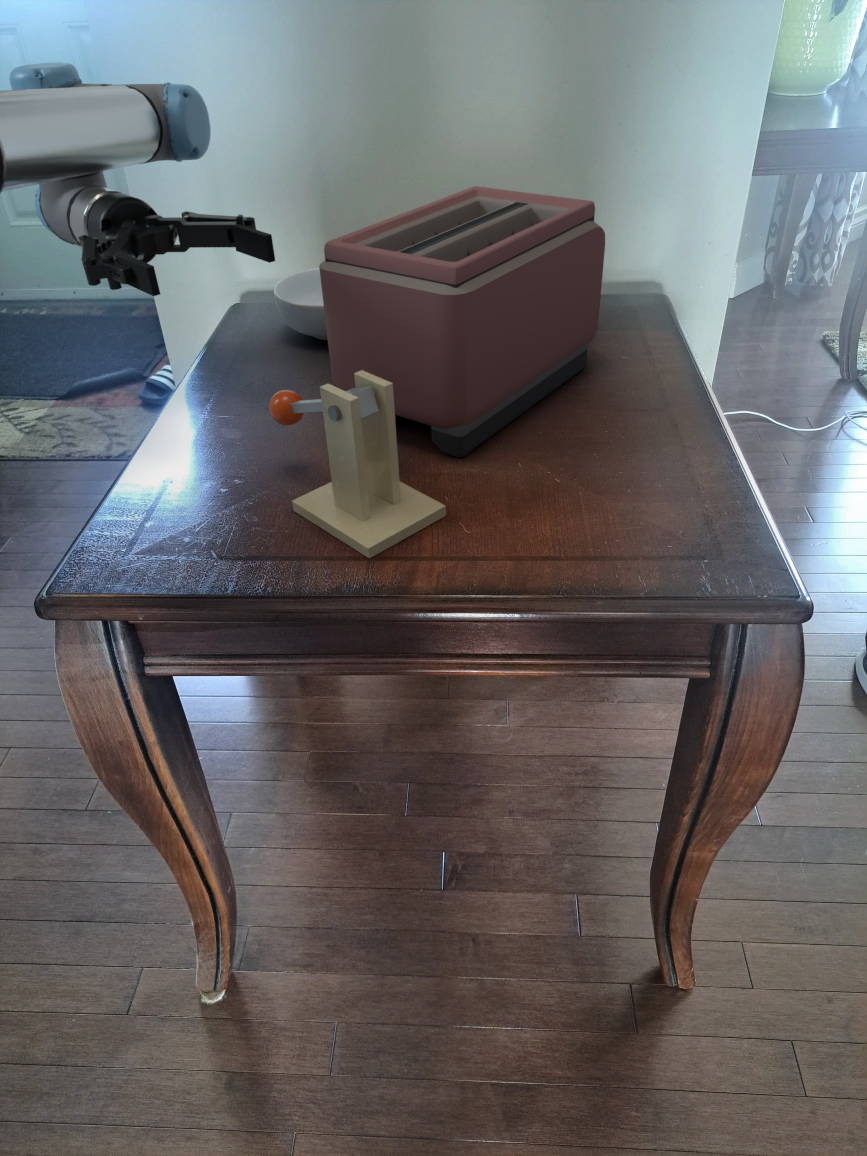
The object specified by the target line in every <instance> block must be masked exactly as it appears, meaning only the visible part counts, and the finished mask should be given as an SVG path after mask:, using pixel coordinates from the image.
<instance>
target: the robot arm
mask: <svg viewBox="0 0 867 1156" xmlns="http://www.w3.org/2000/svg"><path fill="white" fill-rule="evenodd" d="M8 78H9V79H8V80H9V84H10V88H11V89H10V90H9V89H8V90H7V89H6V90H0V195H1V193H2V192H6V191H11V190H18V189H22V188H27V187H33V186H37V185H38V187H37V189H36V192H35V196H34V208H35V209H34V210H35V212H36V216H37V217H38V219H39V221H40V223H41V224H42V225H43V226H44V228H45V229H47V230H48V231H49V232H50V233H52V234H53V235H54V236H56V237H58V239H59V240H61V241H62V242H65V243H67V244H70V245H72V246H73V245H75V246H78V247H80V249H81V253H82V254H81V263H82V267H83V270H84V273H85V277H86V281H87V284H88V286H92V287H96V286H98V285H101V283H102V280H103V279H106V280H107V283H108V287H109V290H112V291H115V290H116V291H117V290H120V289H122V288H123V285H128V286H130V287H132V288H134V289H136V290H139V291H141V292H143V293H145V294H148V295H149V296H151V297H156V296H159V295H160V296H161V290H160V287H159V283H158V277H157V273H156V270H155V266H154V265H152V264H150V262H151V261H152V260H154V259H155V257H157V255H159V256H161V255H165V254H166V253H186V252H188V251H189V250H190V249H191V248H194V249H195V248H235V252H238V253H242V254H244V255H247V256H249V257H252V258H255V259H257V260H261V261H263V262H266V263H269V264H270V263H273V262H276V255H275V249H274V242H273V237H272V234H271V233H267V232H265V231H261V230H259V229H257V225H256V219H255V217H252V216H244V215H243V214H237V215H221V214H220V215H219V214H206V213H196V212H192V211H187V210H186V211H182V212H181V214H180V215H181V217H180V216H179V217H176V216H175V217H163V216H162V215H159V214H158V213H157V212H156V211H155V210H154V209H153V207H152V206H151V205H150V204H149V203H147V202H146V201H145V200H142V199H140V198H138V197H135V196H133V195H129V194H126V193H123V192H121V191H118V190H114V189H112V188H108V187H107V182H106V178H105V175H104V172H105V171H110V170H116V169H120V168H125V167H129V166H130V167H131V166H134V165H143V164H144V165H145V164H150V163H155V162H161V161H176V162H177V163H181V162H183V161H195V160H199V159H201V158H203V157H204V156H205V154H206V153H207V151H208V150H209V146H210V142H211V134H212V133H211V130H212V129H211V121H210V115H209V111H208V107H207V105H206V102H205V100H204V98H203V96H202V95H201V94H200V92H199V90H197V89H196V88H195V87H193V86H192V85H190V84H183V83H182V84H180V83H171V82H164V83H128V84H127V83H126V84H111V83H109V84H108V83H83V81H82V79H81V77H80V74H79V72H78V69H77V68H76V66H75V65H74V64H72V63H70V62H44V63H43V62H42V63H41V62H40V63H39V62H38V63H32V64H31V63H30V64H25V65H19V66H17V67H14V68H13V69H11V71H10V73H9V77H8ZM177 239H178V242H179V244H176V241H177Z"/></svg>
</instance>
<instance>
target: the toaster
mask: <svg viewBox="0 0 867 1156" xmlns="http://www.w3.org/2000/svg"><path fill="white" fill-rule="evenodd" d="M595 216H596V205H595V202H594V201H593V200H588V199H580V198H579V199H578V198H571V197H564V196H556V195H555V196H554V195H547V194H541V193H540V194H539V193H533V192H523V191H515V190H508V189H500V188H495V187H494V188H493V187H487V186H486V187H485V186H476V185H475V186H471V187H468V188H466V189H463V190H461V191H458V192H456V193H453V194H449V195H448V196H445V197H443V198H440V199H437V200H434V201H431V202H429V203H426V204H424V205H421V206H418V207H415V208H413V209H410V210H408V211H405V212H403V213H400V214H397V215H394V216H392V217H389V218H387V219H383V220H381V221H379V222H376V223H373V224H370V225H368V226H365V227H363V228H360V229H357V230H355V231H351V232H349V233H347V234H344V235H341V236H337V237H336V238H333V239H331V240H328V241H326V242H325V243H324V249H323V252H324V261H322V262H320V263H319V266H318V268H319V269H320V278H321V287H322V295H323V304H324V312H325V321H326V330H327V338H328V340H327V346H328V353H329V363H330V372H331V379H332V381H333V384H334V386H335V387H337V388H339V389H341V390H344V391H347V390H350V389H352V388H355V377H354V373H356V372H358V371H361V370H363V371H365V372H368V373H370V374H372V375H375V376H377V377H379V378H382V379H384V380H386V381H389V382H391V383H393V395H394V409H395V416H397V417H401V418H404V419H407V420H411V421H414V422H417V423H420V424H423V425H427V426H429V427H431V429H430V431H431V440H432V442H433V443H434V444H435V445H436V446H437V447H438V448H439V449H440V450H441V452H442V453H444V454H447V455H450V456H453V457H457V458H462V457H464V456H467V454H469V453H470V452H472V451H473V450H474V449H476V448H477V447H478V446H479V445H481V444H483V442H485V441H487V440H488V439H489V438H491V437H493V435H494V434H496V433H498V432H499V431H500V430H501V429H503V428H504V427H506V426H507V425H508V424H510V423H511V422H513V421H514V420H515V419H516V418H517V417H519V416H521V415H522V414H524V413H525V412H526V411H527V410H529V409H530V408H531V407H532V406H534V405H536V404H537V403H538V402H540V401H541V400H542V399H544V398H545V397H547V396H548V395H549V394H551V393H552V392H553V391H555V390H557V388H559V387H560V386H561V385H563V384H564V383H565V382H567V381H568V380H570V379H571V378H572V377H574V376H575V375H577V374H578V373H579V372H580V371H582V370H583V369H585V367H586V366H587V363H588V350H589V343H590V342H592V340H593V339H594V338H595V336H596V334H597V331H598V327H599V318H600V308H601V296H602V285H603V275H604V274H603V273H604V261H605V252H606V251H605V250H606V232H605V230H604V229H603V227H602V226H600V225H599V224H598V223H597V222H595Z"/></svg>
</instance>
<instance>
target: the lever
mask: <svg viewBox="0 0 867 1156" xmlns="http://www.w3.org/2000/svg"><path fill="white" fill-rule="evenodd" d="M346 392H348V393H350V394H352V395H354V396H357V397H359V405H360V416H361V419H363V418H366V417H368V416H370V415H372V414H375V413H377V412H379V408H378V404H377V401H376V398H375V395H374V391H373V388H372V386H366V387H355V388H352V389H350V390H347V391H346ZM268 408H269V409H268V410H269V413H270V416H271V417H272V419H273V420H274V421H275V422H276V423H278V424H279V425H282V426H293V425H296V424H297V423H299V422H300V421H301V419H302V418H303V417H304V414H306V413H307V414H308V413H309V414H310V413H312V414H313V413H323V409H322V401H321V398H318V399H317V398H315V399H305V400H303V398H302V397H301V395H300V394H298V393H297V392H296V391H294V390H291V389H283V390H282V389H281V390H279V391H277V392H276V393H274V394H273V396H272V397H271V398H270V400H269V405H268Z"/></svg>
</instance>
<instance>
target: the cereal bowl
mask: <svg viewBox="0 0 867 1156" xmlns="http://www.w3.org/2000/svg"><path fill="white" fill-rule="evenodd" d="M273 297H274V303H275V306H276V309H277V312H278V314H279V316H280V318H281V319H282V321H283V322H284V323H285V324H286V325H287V326H288V327H289V328H291V329H292V330H294V331H295V332H297V333H300V334H303V335H305V336H309V337H312V338H315V339H318V340H322V341H328V338H327V330H326V321H325V312H324V304H323V295H322V287H321V278H320V269H319V267H315V268H310V269H306V270H302V271H299V272H294V273H292V274H290V275H288V276H286V277H284V278H282V279H280V280H279V281H278V282H277V283H276V284H275V286H274V287H273Z"/></svg>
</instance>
